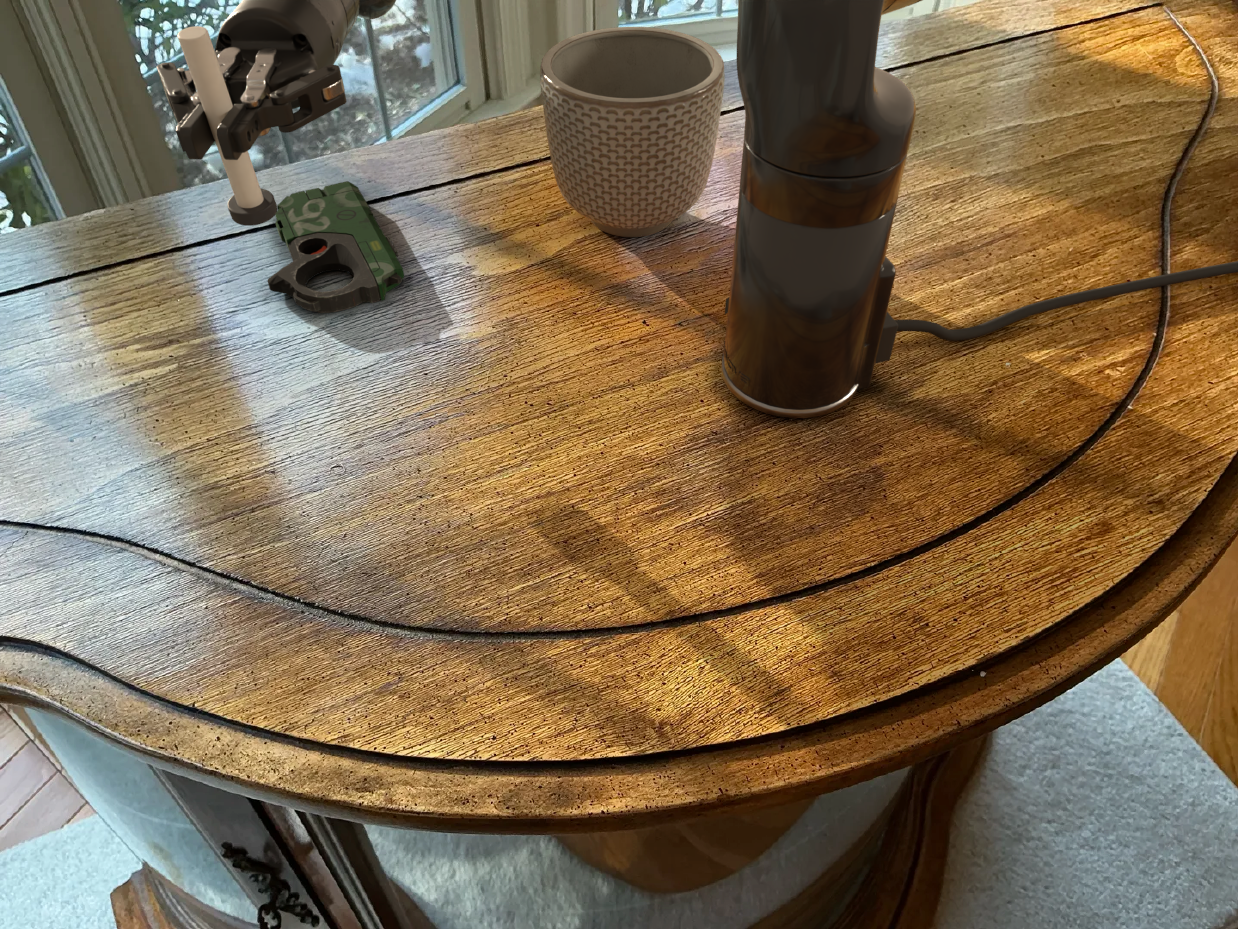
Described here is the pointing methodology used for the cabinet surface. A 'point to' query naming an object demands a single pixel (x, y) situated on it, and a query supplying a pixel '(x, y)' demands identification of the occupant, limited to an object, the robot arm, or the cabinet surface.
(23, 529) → the cabinet surface
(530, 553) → the cabinet surface
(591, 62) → the planter
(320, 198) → the gun
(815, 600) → the cabinet surface
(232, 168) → the beige rod with base
